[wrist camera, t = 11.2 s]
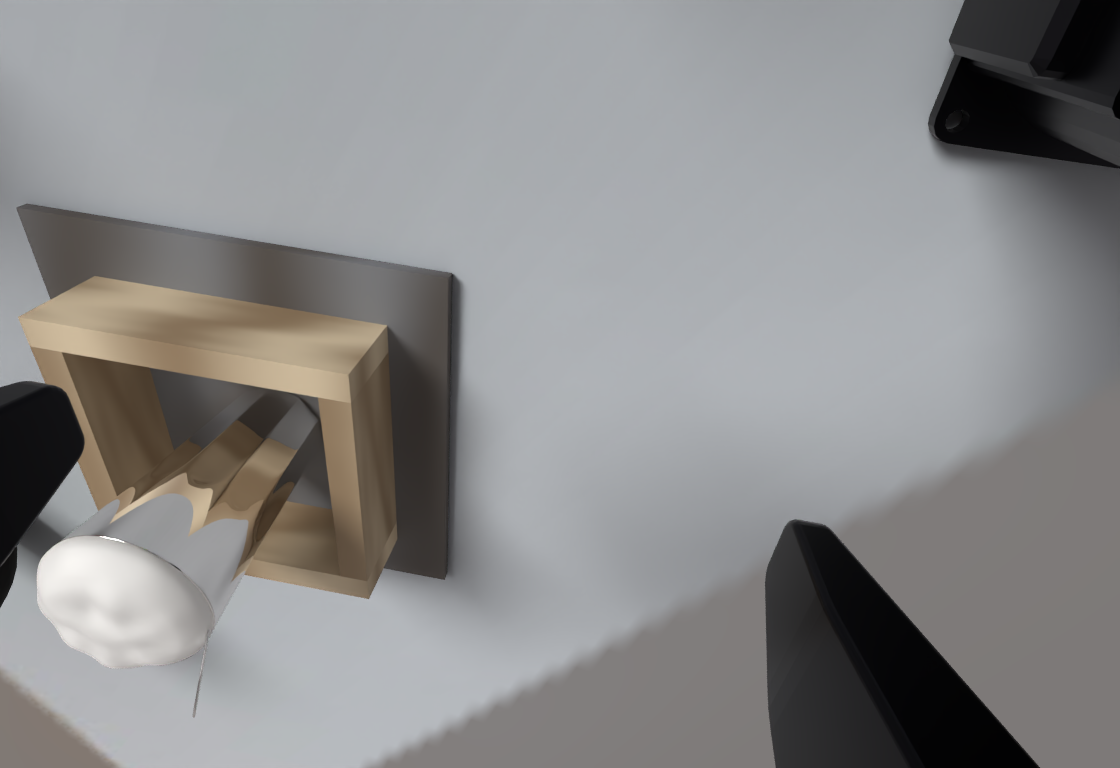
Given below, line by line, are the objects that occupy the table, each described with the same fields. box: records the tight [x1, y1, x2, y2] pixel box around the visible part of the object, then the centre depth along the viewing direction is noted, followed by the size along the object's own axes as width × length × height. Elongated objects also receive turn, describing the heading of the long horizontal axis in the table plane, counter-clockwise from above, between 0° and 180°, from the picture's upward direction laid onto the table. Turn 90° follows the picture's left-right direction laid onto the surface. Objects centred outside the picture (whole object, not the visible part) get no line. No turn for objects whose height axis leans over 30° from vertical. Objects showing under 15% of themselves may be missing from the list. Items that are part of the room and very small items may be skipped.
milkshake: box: [37, 388, 322, 718], centre depth 19 cm, size 5×5×10 cm
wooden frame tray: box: [17, 204, 452, 599], centre depth 22 cm, size 14×14×3 cm
